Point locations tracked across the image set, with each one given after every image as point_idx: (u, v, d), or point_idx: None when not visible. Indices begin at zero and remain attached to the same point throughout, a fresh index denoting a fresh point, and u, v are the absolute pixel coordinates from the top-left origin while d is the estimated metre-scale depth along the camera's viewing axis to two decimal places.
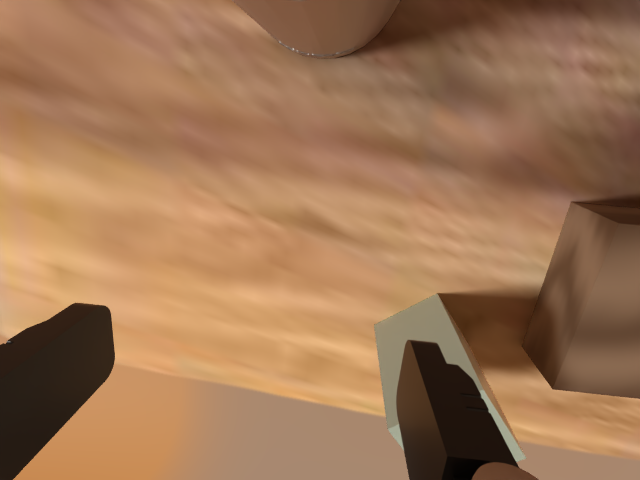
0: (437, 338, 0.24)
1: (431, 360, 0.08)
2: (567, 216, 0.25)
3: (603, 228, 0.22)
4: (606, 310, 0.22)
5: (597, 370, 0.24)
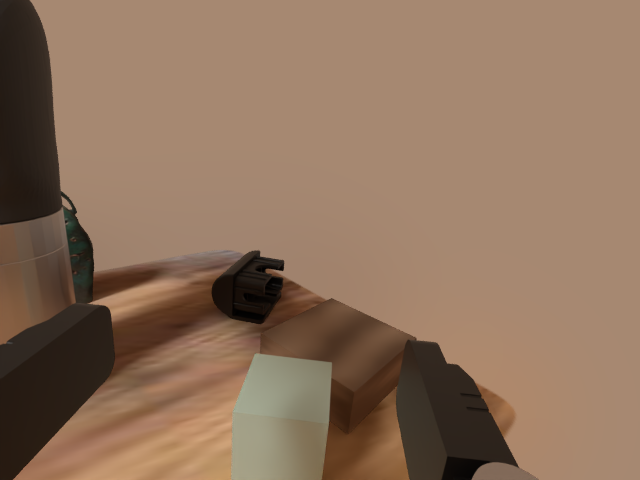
0: None
1: (431, 360, 0.08)
2: None
3: (264, 343, 0.38)
4: (308, 351, 0.36)
5: (351, 369, 0.34)
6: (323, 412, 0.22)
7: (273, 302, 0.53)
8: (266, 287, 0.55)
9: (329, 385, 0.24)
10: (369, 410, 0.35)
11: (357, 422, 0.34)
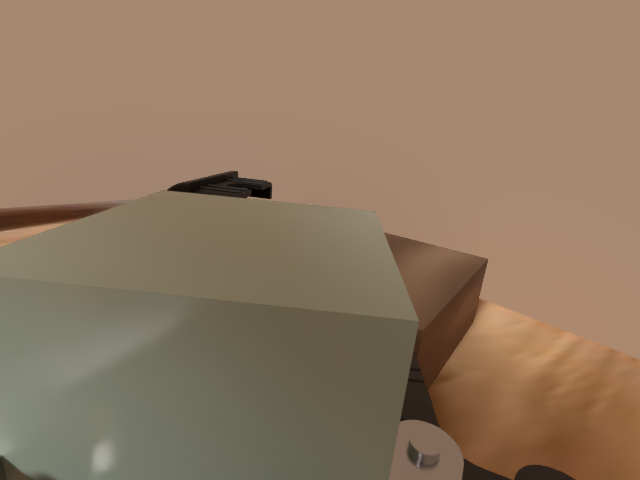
0: None
1: None
2: None
3: None
4: None
5: None
6: (381, 288, 0.05)
7: None
8: None
9: (381, 238, 0.07)
10: (432, 378, 0.18)
11: None
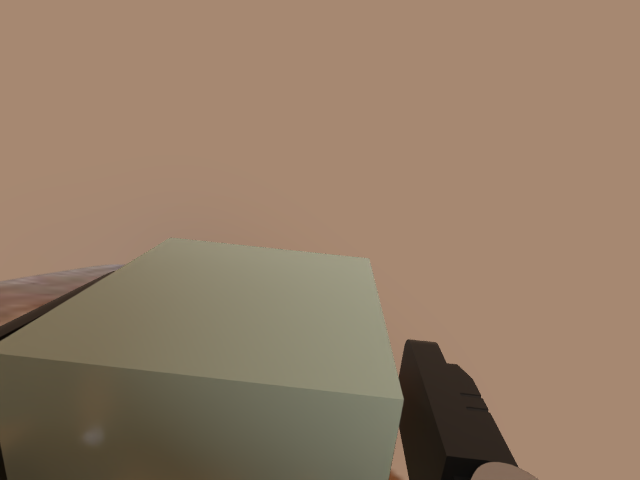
0: None
1: (430, 360, 0.08)
2: None
3: None
4: None
5: None
6: (373, 359, 0.05)
7: None
8: None
9: (374, 295, 0.08)
10: None
11: None
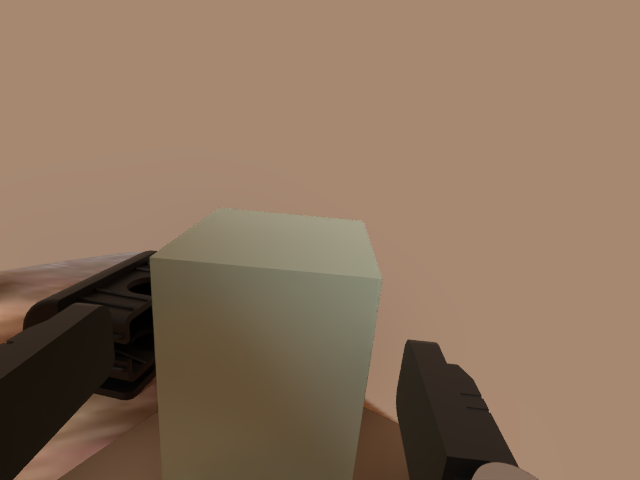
0: None
1: (431, 360, 0.08)
2: None
3: None
4: None
5: None
6: (365, 265, 0.09)
7: None
8: None
9: (366, 239, 0.12)
10: None
11: None
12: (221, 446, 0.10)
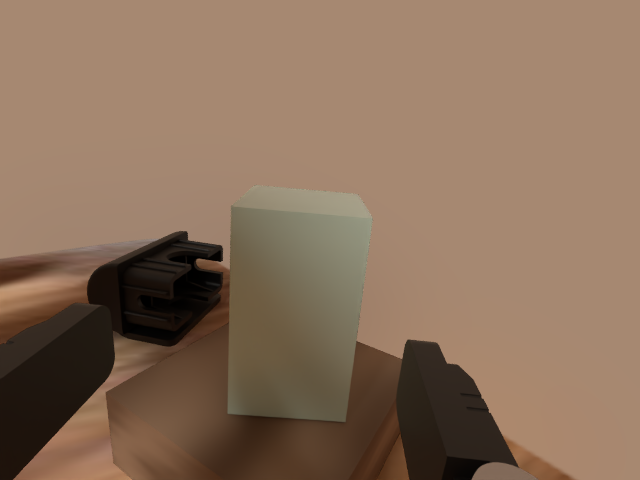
0: None
1: (431, 360, 0.08)
2: (125, 472, 0.19)
3: (114, 413, 0.18)
4: (205, 428, 0.16)
5: (301, 464, 0.15)
6: (361, 213, 0.15)
7: (202, 310, 0.34)
8: (195, 287, 0.36)
9: (361, 202, 0.17)
10: None
11: None
12: (269, 334, 0.16)
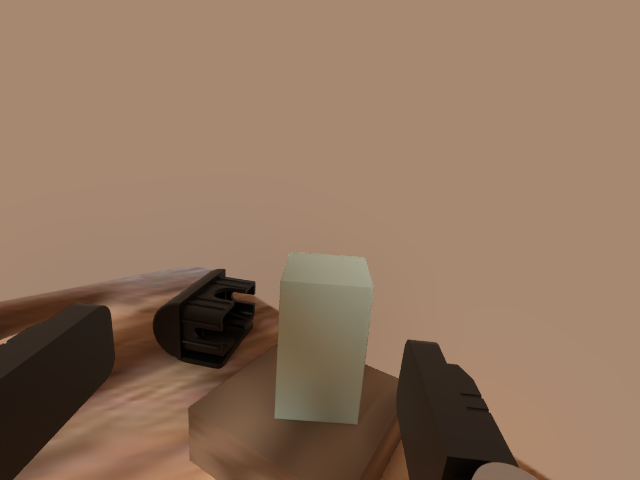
0: None
1: (431, 360, 0.08)
2: (199, 466, 0.26)
3: (195, 423, 0.25)
4: (264, 433, 0.23)
5: (333, 457, 0.22)
6: (367, 282, 0.22)
7: (240, 336, 0.41)
8: (232, 316, 0.43)
9: (367, 268, 0.25)
10: None
11: None
12: (304, 363, 0.23)
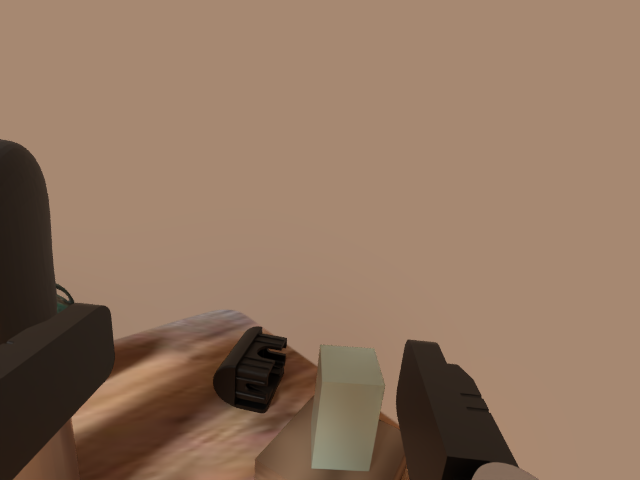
0: (315, 394, 0.38)
1: (431, 360, 0.08)
2: None
3: (260, 469, 0.35)
4: (310, 479, 0.34)
5: None
6: (379, 379, 0.33)
7: (276, 383, 0.52)
8: None
9: (377, 363, 0.35)
10: None
11: None
12: (334, 432, 0.34)
